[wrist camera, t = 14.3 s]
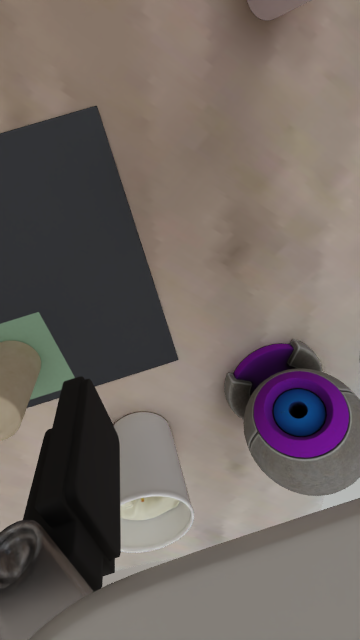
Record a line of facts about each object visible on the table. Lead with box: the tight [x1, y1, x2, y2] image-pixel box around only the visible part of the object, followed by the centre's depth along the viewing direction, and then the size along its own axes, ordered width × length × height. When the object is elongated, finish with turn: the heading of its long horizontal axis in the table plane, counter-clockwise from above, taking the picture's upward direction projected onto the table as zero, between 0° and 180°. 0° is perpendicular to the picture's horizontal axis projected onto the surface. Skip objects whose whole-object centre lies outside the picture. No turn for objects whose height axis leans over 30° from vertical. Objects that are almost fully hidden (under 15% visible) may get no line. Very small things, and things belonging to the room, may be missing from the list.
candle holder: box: [114, 412, 194, 553], centre depth 37 cm, size 10×10×12 cm
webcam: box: [224, 339, 360, 496], centre depth 35 cm, size 13×13×15 cm
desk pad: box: [0, 106, 178, 408], centre depth 31 cm, size 26×23×1 cm
